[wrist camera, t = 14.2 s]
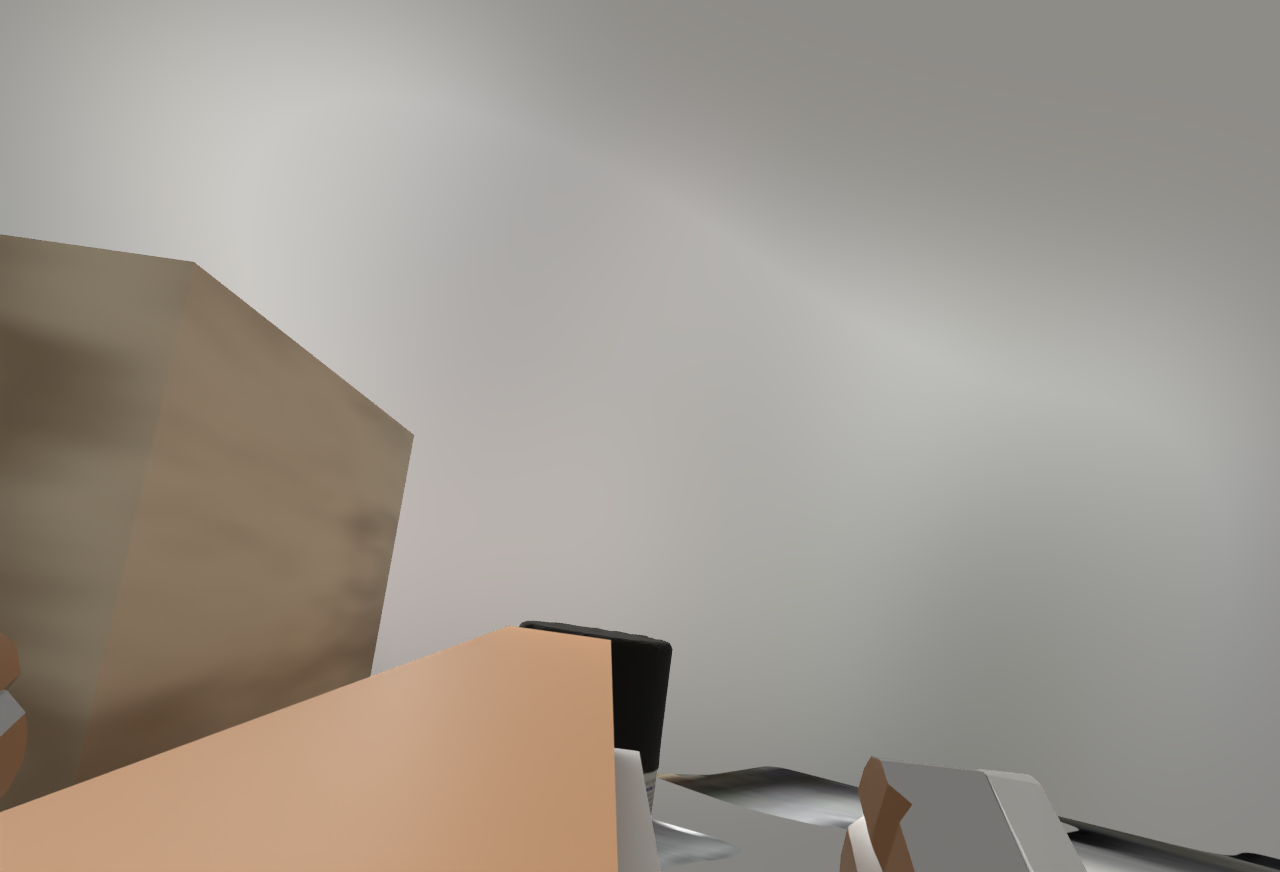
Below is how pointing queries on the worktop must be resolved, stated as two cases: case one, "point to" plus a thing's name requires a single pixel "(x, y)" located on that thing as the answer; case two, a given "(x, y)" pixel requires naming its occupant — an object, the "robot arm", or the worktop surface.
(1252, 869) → the worktop surface
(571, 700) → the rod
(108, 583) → the beige rectangular block
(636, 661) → the spray can
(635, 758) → the base
